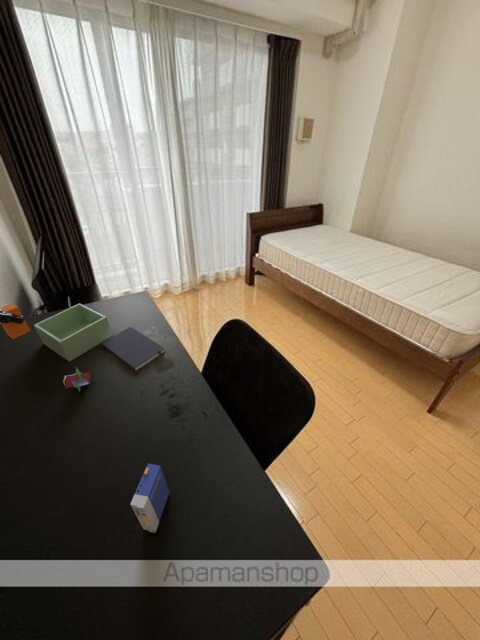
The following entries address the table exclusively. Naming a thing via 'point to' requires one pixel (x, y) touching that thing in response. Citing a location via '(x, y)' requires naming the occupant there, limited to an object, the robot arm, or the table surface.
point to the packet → (11, 327)
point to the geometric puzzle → (77, 379)
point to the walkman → (150, 498)
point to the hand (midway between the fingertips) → (19, 318)
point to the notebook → (133, 348)
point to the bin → (74, 331)
